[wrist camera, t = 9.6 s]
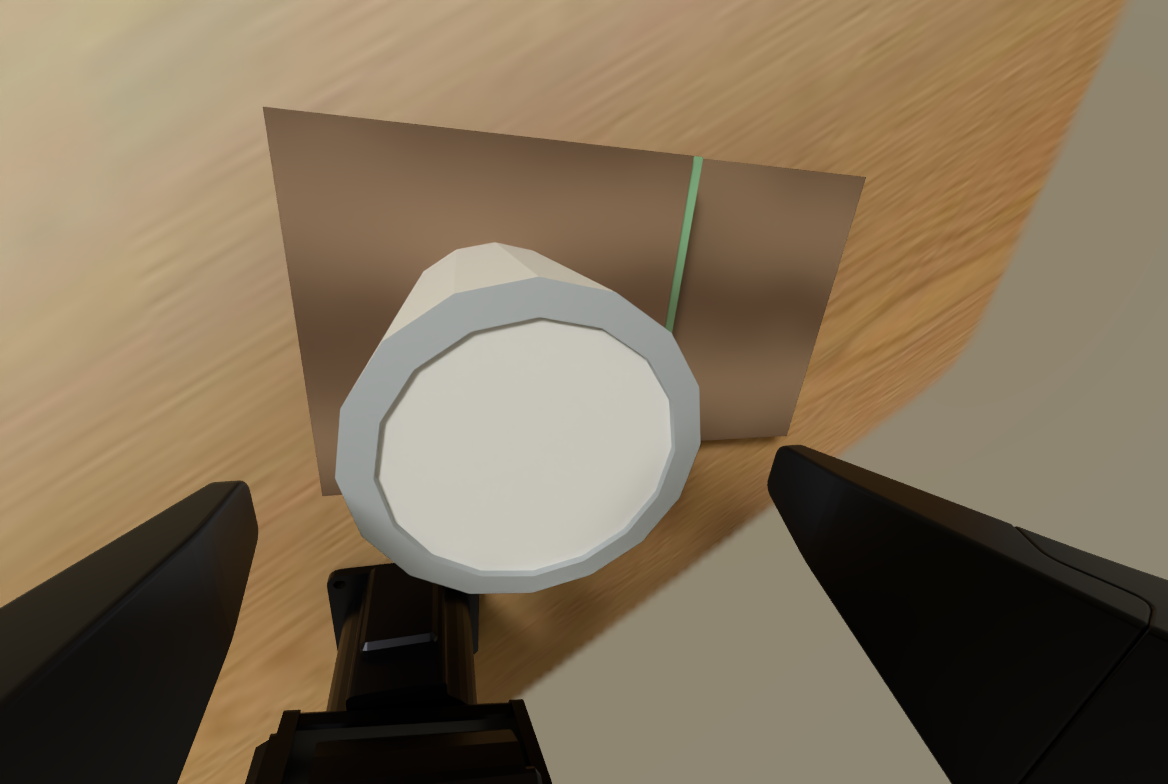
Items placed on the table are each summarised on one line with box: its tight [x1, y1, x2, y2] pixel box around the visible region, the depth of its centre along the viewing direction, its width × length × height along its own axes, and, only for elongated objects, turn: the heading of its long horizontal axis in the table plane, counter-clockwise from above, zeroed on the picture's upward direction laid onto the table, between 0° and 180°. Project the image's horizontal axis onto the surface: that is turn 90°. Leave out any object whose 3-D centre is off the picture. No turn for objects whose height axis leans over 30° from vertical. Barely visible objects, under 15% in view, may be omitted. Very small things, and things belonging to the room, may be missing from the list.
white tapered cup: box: [335, 242, 701, 594], centre depth 12 cm, size 7×7×7 cm
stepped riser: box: [263, 107, 866, 496], centre depth 18 cm, size 11×19×4 cm, turn 84°
